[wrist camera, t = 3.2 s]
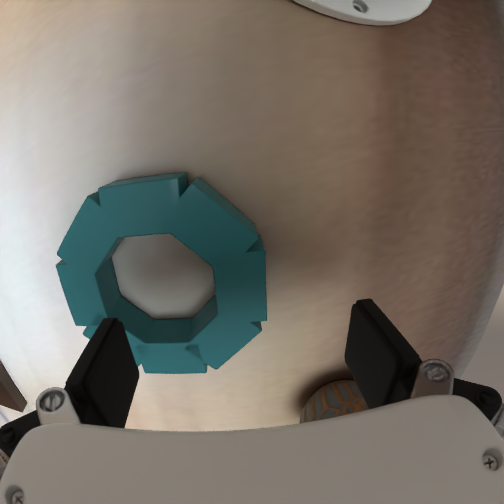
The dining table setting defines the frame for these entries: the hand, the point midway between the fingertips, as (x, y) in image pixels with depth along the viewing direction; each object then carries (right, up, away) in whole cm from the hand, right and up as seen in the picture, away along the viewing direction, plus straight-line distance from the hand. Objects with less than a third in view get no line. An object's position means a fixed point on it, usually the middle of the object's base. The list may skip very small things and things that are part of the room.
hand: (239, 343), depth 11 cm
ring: (-4, +2, +5) cm, 7 cm away
